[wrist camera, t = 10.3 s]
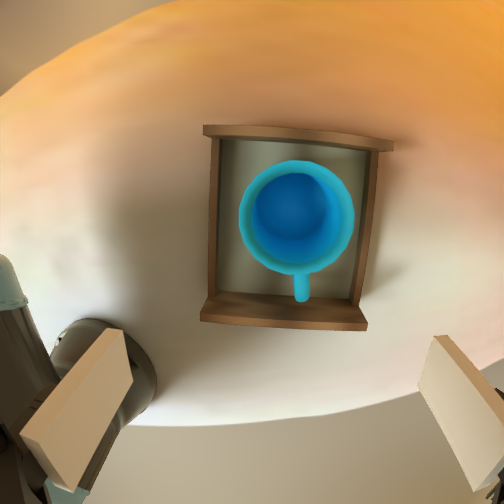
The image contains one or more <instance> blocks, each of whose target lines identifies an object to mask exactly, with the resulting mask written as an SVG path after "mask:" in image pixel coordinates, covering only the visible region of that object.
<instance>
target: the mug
mask: <svg viewBox="0 0 504 504" xmlns="http://www.w3.org/2000/svg"><path fill="white" fill-rule="evenodd" d="M354 216H355V213H354V208H353V204H352V199H351V196H350V194H349V192H348V191H347V189H346V187H345V186H344V184H343V182H342V181H341V180H340V179H339V178H338V177H337V176H336V175H335V174H333V173H332V172H331V171H330V170H329V169H327V168H325V167H323V166H320V165H318V164H315V163H313V162H310V161H299V160H289V161H285V162H281V163H278V164H274V165H272V166H270V167H269V168H267V169H266V170H264V171H263V172H261V173H260V174H258V175H257V176H256V177H255V178H254V179H253V181H252V182H251V183H250V185H249V186H248V187H247V188H246V190H245V192H244V195H243V198H242V200H241V203H240V206H239V229H240V232H241V235H242V239H243V242H244V244H245V245H246V247H247V248H248V250H249V251H250V253H251V254H252V255H253V257H254V258H255V259H257V260H258V261H259V262H260V263H262V264H263V265H264V266H266V267H267V268H269V269H271V270H274V271H277V272H280V273H283V274H288V275H292V279H293V288H294V296H295V299H296V301H298V302H305V301H307V300H308V299H309V296H310V273H312V272H316V271H320V270H321V269H323V268H325V267H326V266H328V265H329V264H331V263H333V262H334V261H335V260H336V259H337V258H338V257H339V256H340V254H341V253H342V252H343V251H344V250H345V249H346V247H347V245H348V242H349V240H350V238H351V235H352V233H353V227H354Z"/></svg>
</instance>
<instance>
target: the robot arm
mask: <svg viewBox="0 0 504 504" xmlns="http://www.w3.org/2000/svg"><path fill="white" fill-rule="evenodd" d="M27 304H28V299H27V297H26V296H25V295H24V294H23V292H22V289H21V287H20V284H19V281H18V279H17V276H16V273H15V271H14V268H13V266H12V264H11V262H10V261H9V260H8V259H7V258H6V257H5V256H4V255H1V254H0V504H82V503H83V501H84V499H85V497H86V496H88V495H89V494H90V490H91V488H92V486H93V484H94V482H95V480H96V477H97V476H98V474H99V472H100V470H101V468H102V466H103V464H104V462H105V460H106V458H107V455H108V453H109V451H110V449H111V447H112V445H113V443H114V441H115V439H116V437H117V435H118V434H119V432H120V430H121V429H122V428H123V427H124V426H126V425H127V424H128V423H129V422H131V421H132V420H133V419H134V418H135V417H137V416H138V415H139V414H140V413H142V412H143V411H145V410H146V408H147V407H148V406H149V404H150V402H151V400H152V398H153V396H154V394H155V391H156V386H157V380H156V374H155V371H154V368H153V366H152V364H151V362H150V360H149V358H148V357H147V355H146V354H145V352H144V351H143V350H142V348H141V347H140V346H139V345H138V344H137V343H136V342H135V341H134V340H133V339H132V338H131V337H129V336H128V335H127V334H126V333H124V332H123V330H120V329H118V328H116V327H114V326H113V325H110V324H108V323H106V322H103V321H99V320H94V319H82V320H78V321H76V322H74V323H72V324H71V325H69V326H68V327H67V328H66V329H65V330H64V331H63V332H62V333H61V334H60V335H59V337H58V338H57V340H56V343H55V346H54V349H53V350H52V352H51V355H50V357H49V355H48V353H47V351H46V348H45V346H44V344H43V342H42V340H41V337H40V335H39V333H38V330H37V328H36V326H35V323H34V321H33V318H32V316H31V313H30V311H29V308H28V305H27ZM417 387H418V388H419V390H420V392H421V393H422V395H423V397H424V399H425V400H426V402H427V404H428V406H429V407H430V409H431V411H432V413H433V414H434V416H435V418H436V420H437V421H438V423H439V425H440V427H441V429H442V431H443V432H444V434H445V436H446V438H447V440H448V442H449V444H450V445H451V447H452V449H453V451H454V453H455V455H456V457H457V459H458V461H459V463H460V465H461V467H462V469H463V471H464V473H465V475H466V477H467V479H468V481H469V483H470V485H471V487H472V490H473V491H477V490H479V489H482V488H484V487H486V486H488V485H490V484H491V482H492V481H493V480H494V479H495V478H496V477H497V475H498V477H499V478H500V481H499V482H498V483H497V485H496V486H495V487H494V488H493V489H492V490H491V491H490V492H489V493H488V495H487V497H486V499H488V498H489V497H490V496H491V495H492V494H493V493H494V492H495V493H494V496H493V498H492V499H491V500H492V503H491V504H504V393H503V392H502V391H500V390H499V389H497V388H495V389H494V388H493V387H492V386H491V385H490V383H489V382H488V381H487V380H486V379H485V377H484V376H483V375H482V374H481V373H480V371H479V370H478V369H477V368H476V367H475V366H474V364H473V363H472V362H471V361H470V360H469V359H468V358H467V356H466V355H465V354H464V353H463V352H462V351H461V350H460V349H459V347H458V346H457V345H456V344H455V343H454V342H453V341H452V340H451V339H450V338H449V336H448V335H441V336H433V340H432V343H431V346H430V350H429V353H428V356H427V359H426V362H425V365H424V368H423V371H422V373H421V376H420V379H419V382H418V385H417Z"/></svg>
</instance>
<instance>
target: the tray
mask: <svg viewBox="0 0 504 504" xmlns="http://www.w3.org/2000/svg"><path fill="white" fill-rule="evenodd" d="M203 135H205V136H207V137H210V138H212V147H211V170H210V197H209V237H208V297H207V299H206V301H205V304H204V306H203V308H202V310H201V312H200V321H203V322H213V323H223V324H234V325H246V326H259V327H273V328H289V329H309V330H334V331H366V330H367V326H368V322H367V321H366V319H365V317H364V315H363V313H362V311H361V309H360V308H359V301H360V296H361V291H362V285H363V280H364V274H365V268H366V262H367V255H368V249H369V242H370V234H371V227H372V219H373V210H374V201H375V191H376V180H377V168H378V153H379V152H385V151H393V143H394V141H390V140H384V139H378V138H372V137H365V136H358V135H351V134H344V133H336V132H327V131H318V130H307V129H296V128H283V127H267V126H245V125H203ZM289 160H299V161H310V162H313V163H315V164H318V165H320V166H323V167H325V168H327V169H329V170H330V171H331V172H332V173H333V174H335V175H336V176H337V177H338V178H339V179H340V180H341V181H342V182H343V184H344V186H345V187H346V189H347V191H348V192H349V194H350V196H351V199H352V204H353V208H354V213H355V216H354V227H353V233H352V235H351V238H350V240H349V242H348V245H347V247H346V249H345V250H344V251H343V252H342V253H341V254H340V256H339V257H338V258H337V259H336V260H335V261H334V262H333V263H331V264H329V265H328V266H326V267H325V268H323V269H321V270H320V271H316V272H312V273H310V296H309V299H308V300H307V301H305V302H298V301H296V299H295V296H294V288H293V279H292V275H288V274H283V273H280V272H277V271H274V270H271V269H269V268H267V267H266V266H264V265H263V264H262V263H260V262H259V261H258V260H257V259H255V258H254V257H253V255H252V254H251V253H250V251H249V250H248V248H247V247H246V245H245V244H244V242H243V239H242V235H241V232H240V229H239V206H240V203H241V200H242V198H243V195H244V192H245V190H246V188H247V187H248V186H249V185H250V183H251V182H252V181H253V179H254V178H255V177H256V176H257V175H258V174H260V173H261V172H263V171H264V170H266V169H267V168H269V167H270V166H272V165H274V164H278V163H281V162H285V161H289Z"/></svg>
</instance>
